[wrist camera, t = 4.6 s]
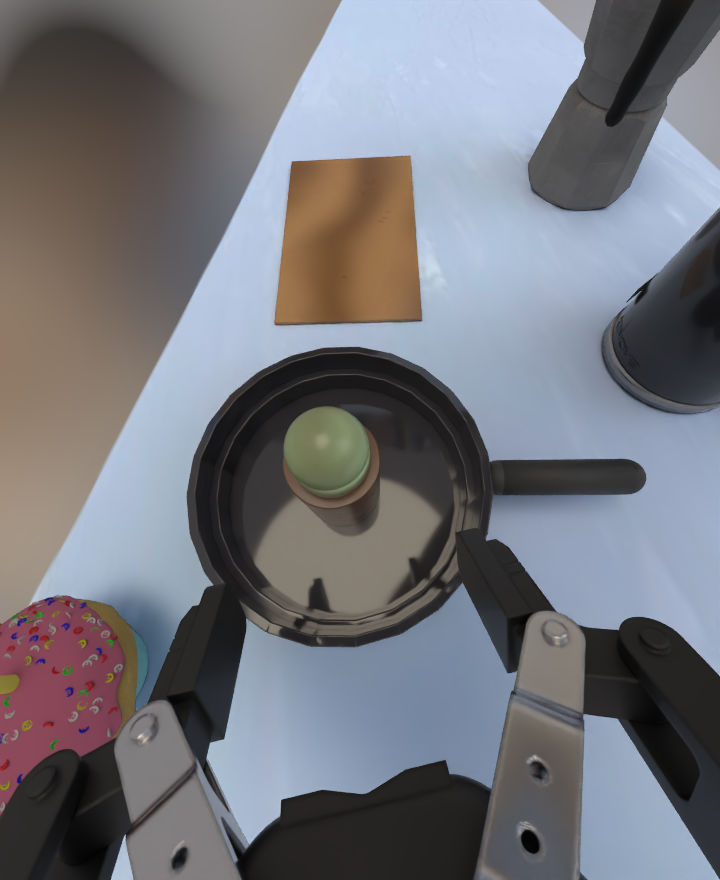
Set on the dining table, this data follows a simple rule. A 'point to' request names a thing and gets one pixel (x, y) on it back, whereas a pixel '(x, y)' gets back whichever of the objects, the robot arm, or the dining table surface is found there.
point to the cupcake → (64, 682)
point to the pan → (328, 546)
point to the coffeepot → (618, 97)
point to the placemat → (349, 243)
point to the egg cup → (333, 465)
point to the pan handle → (566, 477)
